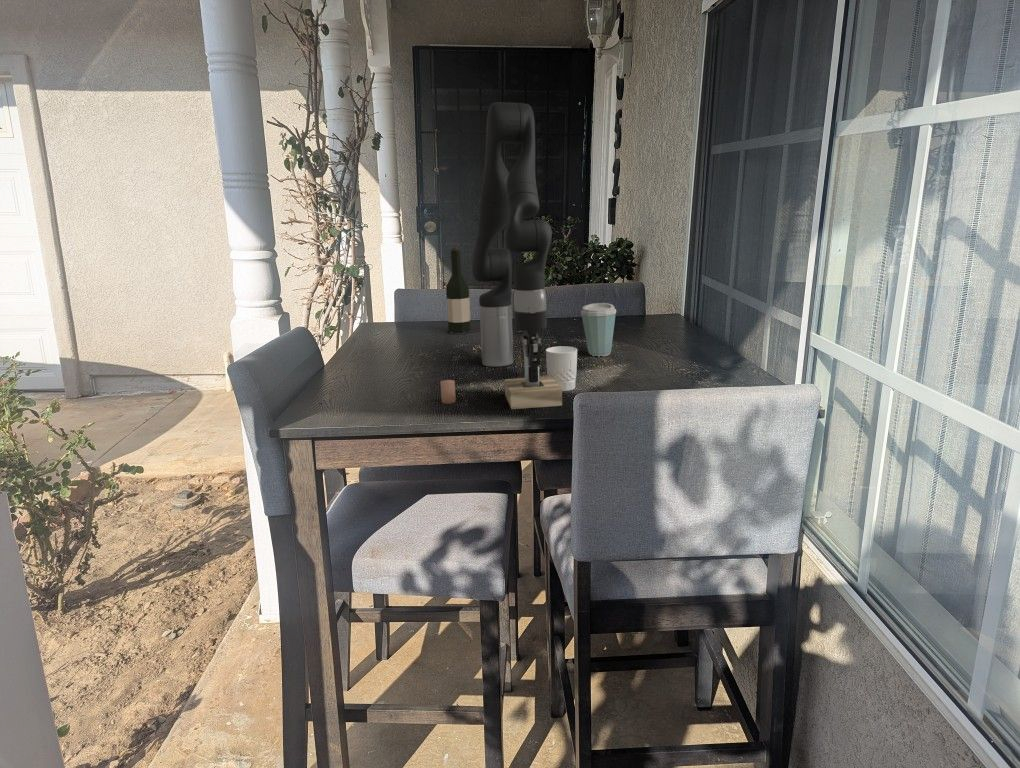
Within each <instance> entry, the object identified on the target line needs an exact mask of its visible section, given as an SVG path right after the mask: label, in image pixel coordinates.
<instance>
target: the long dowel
mask: <svg viewBox="0 0 1020 768" xmlns="http://www.w3.org/2000/svg"><path fill="white" fill-rule="evenodd" d="M528 353H529V352H528ZM523 355H524V357H523V359H524V362H523V363H524V378H525V388H526V387H539V377H540V366H539V367H538V382H533V383H530V382H529V375H528V358H527V357H526V356H525V350H524V354H523ZM532 361H536V358H533V359H532Z"/></svg>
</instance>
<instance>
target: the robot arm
mask: <svg viewBox="0 0 1020 768" xmlns="http://www.w3.org/2000/svg"><path fill="white" fill-rule="evenodd" d="M534 114H535V113H534V111H533V109H532V106H531V105H530V104H528V103H526V102H525V103H523V102H503V101H497V102H493V103H491V104H490V105H489V107H488V111H487V118H486V129H485V130H486V133H485V155H484V168H483V175H482V181H481V183H482V184H481V189H480V190H481V191H480V200H479V212H478V223H477V233H476V238H475V242H474V243H475V244H474V249H473V253H472V260H471V270H472V272H471V273H472V276H473V278H474V280H476V281H477V282H480V283H481V282H483V283H486V282H487V283H490V282H497V283H496V285H495V286H494V287H493V288H492V289H490V290H488V291H486V292H484V293H483V294H481V295H480V296H479V298H478V299H479V300H478V303H479V304H478V305H479V322H480V323H479V325H480V344H481V346H480V347H481V364H482V365H483V366H486V367H503V366H506V367H507V366H509V365H512V364H514V341H513V340H514V338H513V337H514V336H513V318H514V329H516V330H518V331H521V332H522V331H523V333H522V334H521V341H522V342H521V343H522V353H523V354H522V355H523V358H524V350H525V356H526V357H527V358H528V375H529V382H530V383H533V382H538V367H539V368H540V366H541V352H542V351H541V350H542V344H541V343H542V342H541V341H542V339H541V336H540V335H539V333H538V331H541V330H542V331H543V330H545V329H546V328H547V326H548V319H547V316H548V315H547V313H548V312H547V295H546V289H545V288H546V283H545V282H546V278H545V276H546V275H545V273H546V272H545V271H546V270H545V269H546V262H547V257H548V255H549V254H548V253H549V251H550V246H551V243H552V238H553V237H552V236H553V233H552V227H551V226H550V223H548V221H546V220H545V219H529V218H532V217H535V216H536V215H537V214H538V212H539V210H540V201H539V193H538V187H537V180H536V129H535V128H536V127H535V126H536V124H535V116H534ZM501 144H521V150H520V153H519V156H518V157H517V159H516V161H515V163H514V164H513V165H512V167H511V168H510V169H511V170H510V171H509V170H508V169H507V167H506V165H505V163H504V160H503V157H502V155H501V151H500V145H501ZM527 219H529V220H527ZM505 227H506V228H505ZM504 228H505V233H504V241H505V246H506V247H507V248H506V247H495V248H493V247H492V248H491V246H492V244H493V241H494V240H495V239H496V237H497V236H498V235H499V234H500V233H501V231H502V230H504ZM511 252H512V253H534V252H535V253H534V256H533V257H532V258H531V259H530V260H528V261H523V262H521V263H520V262H519V263H517V264H516V265H514V268H513V267H512V266H513V262H512V260H513V259H512V254H511ZM512 275H513V277H512ZM512 278H513V279H514V280H513V283H514V291H512V290H513V288H512ZM512 292H514V296H513V309H512V295H513V294H512ZM512 310H513V311H512ZM513 313H514V315H513ZM528 352H529V353H528ZM533 358H536V361H532V359H533Z"/></svg>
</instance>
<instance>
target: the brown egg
mask: <svg viewBox="0 0 1020 768" xmlns="http://www.w3.org/2000/svg"><path fill="white" fill-rule="evenodd" d="M440 394H441V395H440V396H441V403H442V404H447V405H449V404H454V403H456V402H457V401H456V383H455V380H454V379H444V380H441V381H440Z"/></svg>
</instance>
